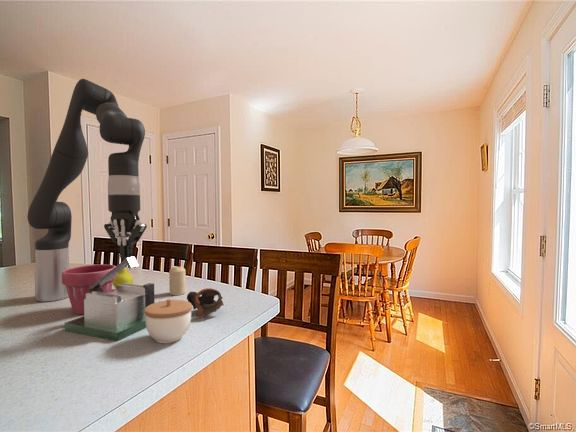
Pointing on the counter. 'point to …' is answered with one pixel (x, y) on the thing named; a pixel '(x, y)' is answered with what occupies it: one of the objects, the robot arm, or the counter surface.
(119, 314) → the heat sink board
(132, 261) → the grey long bar
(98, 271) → the plant pot
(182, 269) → the candle
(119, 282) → the fruit
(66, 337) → the counter surface
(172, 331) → the lidded jar
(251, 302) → the counter surface
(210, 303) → the brown glossy rounded piece
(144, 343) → the counter surface
